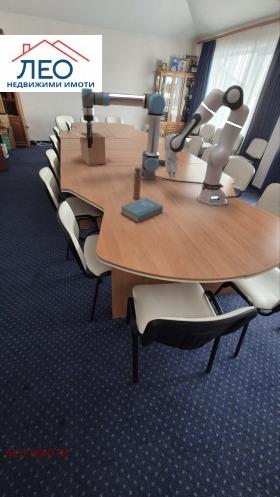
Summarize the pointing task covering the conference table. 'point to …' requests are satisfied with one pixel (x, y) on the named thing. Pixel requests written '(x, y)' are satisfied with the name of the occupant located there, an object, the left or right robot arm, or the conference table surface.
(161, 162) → the laser sight
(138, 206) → the book
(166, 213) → the conference table surface
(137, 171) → the cap
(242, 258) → the conference table surface
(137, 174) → the bottle
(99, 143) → the box
